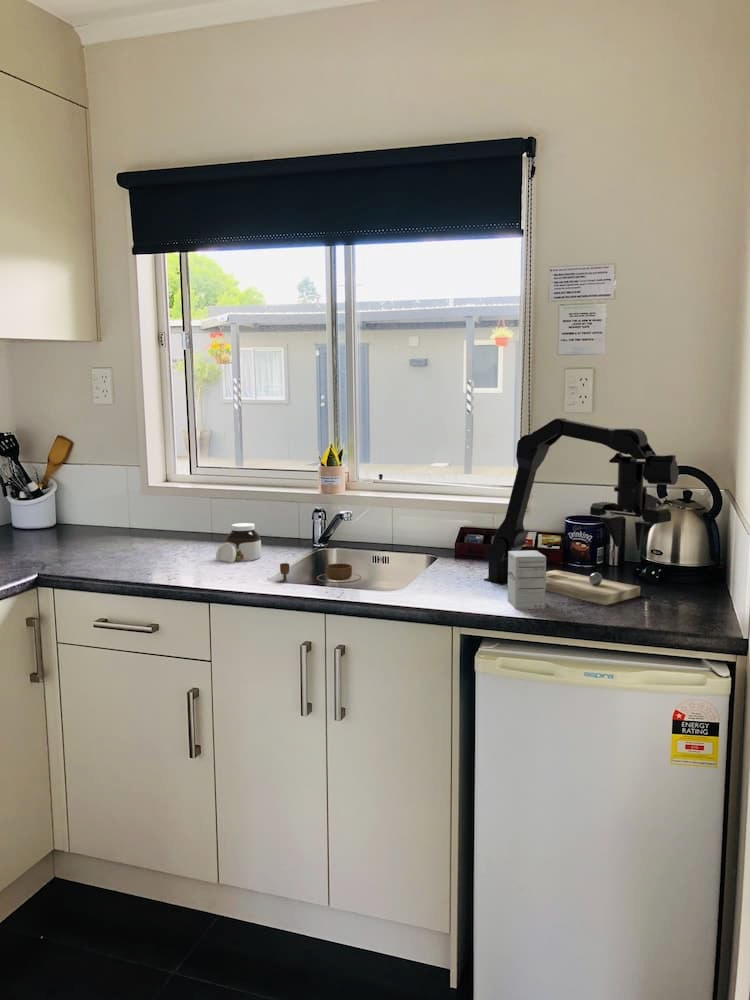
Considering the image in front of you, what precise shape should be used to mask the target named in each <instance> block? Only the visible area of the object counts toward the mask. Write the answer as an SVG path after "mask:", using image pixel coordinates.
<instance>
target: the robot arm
mask: <svg viewBox="0 0 750 1000" xmlns="http://www.w3.org/2000/svg"><path fill="white" fill-rule="evenodd" d="M562 437H568V438H573V439H577V440H581V441H587V442H592V443H597V444H601V445H604V446H605V447H608V448H609V449H611V450H614V451H616V453H615V455H614V456H613V457H612V458H610V459H609V460H608V461H609V462H608V463H610V464H618V465H617V486H614V488H613V489H614V490H613V491H614V492H617V496H616V498H617V499H616V502H608V501H600V502H593V503H592V504H591V506H590V507H589V515H590V516H597V517H599V520H600V521H603V523H604V525H605V527H606V528H607V530H608V533H609V535H610V536H611V539H612V541H613V543H614V546H615V547H616V548H618V547H620V545H621V535H622V534H621V531H622V530H621V529H622V522H623V520H624V518H625V517H634V518H640V519H639V520H640V521H634V529H635V531H634V532H635V544H636V550H637V551H642V549H643V547H644V544H645V541H646V540H647V536H648V535H649V533H650V530H651V529H652V528H653V527H654V525H657V524H661V523H668V522H671V521H672V513H671V511H670V509H669V508H663V507H657V503H658V500H659V498H657V497H656V496H653V495H652V494H649V493H648V489H647V486H644V481H647V483H648V484H649V485H666V486H675V485H676V484H677V483H678V481H679V480H678V479H679V471H680V469H679V468H678V467H679V466H678V462H677V460H676V457H677V456H676V455H675V454H668V455H661V454H659V455H657V454H656V452H655V450H653V448H652V446H651V445H650V444H649V442H648V436H647V434H646V433H645V431H644V430H642V429H640V428H609V427H603V426H598V425H594V424H590V423H585V422H580V421H579V422H578V421H574V420H569V419H567V418H564V417H562V418H553V419H552V420H550V421H549V422H548V423H546V424H545V425H544V426H542V427H540V428H538V429H536V430H534V431H533V432H532V433H530V434H525V435H523V436H521V437H519V439H518V441H517V443H516V444H517V445H516V453H515V456H516V462H517V470H516V474H515V479H514V482H513V485H512V489H511V494H510V497H509V500H508V501H509V502H508V504H507V509H506V513H505V518H504V519H503V521H502V522H501V524H500V526H498V528H497V530H496V532H495V534H494V536H493V538H492V543H491V544H490V545H489V546H488V547H487V548H486V549H485V550H484V551H483V555H484V559H485V560H486V561H488V569H487V570H488V574H487V575H488V577H486V578H484V579H483V581H485V582H488V583H493V584H497V585H506V584H507V585H508V551H521V550H522V548H523V547H524V546H526V545H527V538H528V536H529V532H530V531H529V530H528V529H525V526H524V519H525V516H526V511H527V508H528V504H529V500H530V497H531V493H532V489H533V485H534V481H535V477H536V474H537V471H538V469H539V467H540V466H542V464H543V462H544V461H545V458H546V456H547V455H548V452H549V449H550V447H551V446H552V445H554V444H556V443H557V441H558V440H559V439H561V438H562ZM628 455H630V456H628Z"/></svg>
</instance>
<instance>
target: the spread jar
mask: <svg viewBox="0 0 750 1000" xmlns="http://www.w3.org/2000/svg"><path fill="white" fill-rule="evenodd" d="M255 526H256V525H255V523H251V522H239V523H232V524H231V531H230V533H229V534H228V535H227V537H226V540H225V543H222V544H220V546H218V548H217V551H216V555H215V561H217V562H218V561H221V562H222V561H224V562H228V564H232V563H234V562H235V560H238V562H239V561H240V562H241V561H242V562H252V561H256V560H257V561H258V560H259V559H260V558H261V556H262V555H261V554H262V540H261V535H260V534H259V533H258V532H257V531H256V529H255V528H256V527H255Z"/></svg>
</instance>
